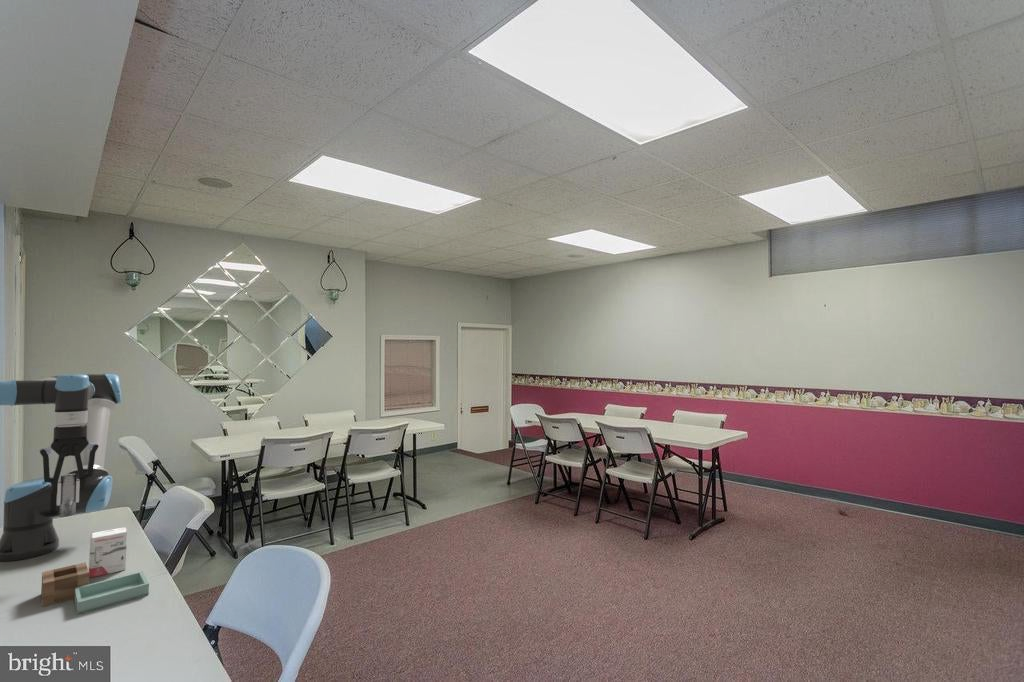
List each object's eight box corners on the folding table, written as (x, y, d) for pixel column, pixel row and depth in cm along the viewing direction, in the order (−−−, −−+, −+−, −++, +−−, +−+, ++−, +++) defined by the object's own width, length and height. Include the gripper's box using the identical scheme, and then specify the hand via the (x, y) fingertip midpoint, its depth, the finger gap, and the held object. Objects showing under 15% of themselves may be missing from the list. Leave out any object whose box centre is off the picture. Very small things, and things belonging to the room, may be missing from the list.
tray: (74, 599, 130) (74, 587, 130) (141, 581, 140) (142, 571, 140) (77, 614, 122) (77, 602, 122) (148, 594, 133) (148, 583, 133)
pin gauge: (58, 515, 146) (60, 474, 146) (74, 512, 148) (76, 472, 149) (59, 517, 143) (61, 477, 144) (75, 514, 146) (77, 474, 146)
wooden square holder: (41, 594, 132) (42, 572, 132) (84, 583, 139) (85, 562, 139) (42, 606, 126) (43, 583, 126) (87, 594, 132) (88, 572, 132)
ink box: (88, 578, 142) (90, 537, 142) (88, 572, 145) (89, 533, 146) (126, 570, 147) (127, 531, 148) (125, 564, 151) (126, 526, 151)
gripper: (32, 429, 138) (29, 511, 137) (107, 423, 150) (104, 500, 149) (32, 426, 144) (29, 506, 143) (104, 421, 155) (102, 495, 154)
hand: (67, 502), depth 146 cm, fingers closed on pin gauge, 3 cm apart
